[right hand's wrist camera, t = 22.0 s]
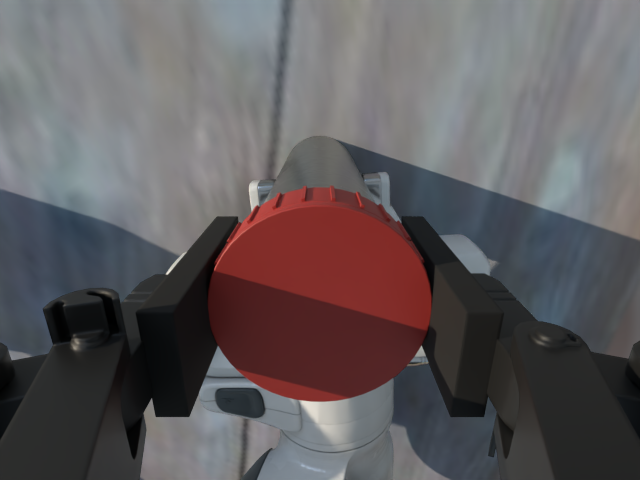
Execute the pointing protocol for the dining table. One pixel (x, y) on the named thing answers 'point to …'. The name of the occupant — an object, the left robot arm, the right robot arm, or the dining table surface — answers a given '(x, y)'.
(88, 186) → the dining table surface
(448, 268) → the right robot arm
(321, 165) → the jar
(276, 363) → the lid
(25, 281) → the dining table surface
